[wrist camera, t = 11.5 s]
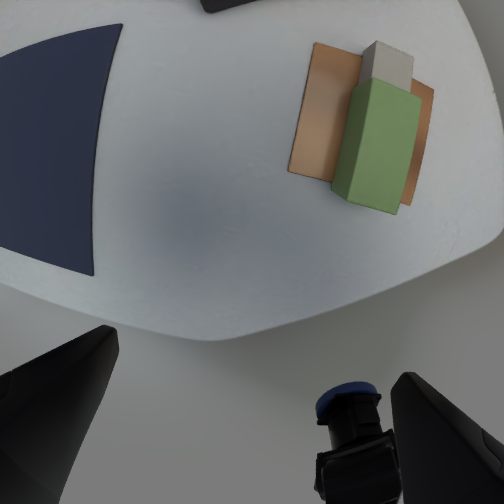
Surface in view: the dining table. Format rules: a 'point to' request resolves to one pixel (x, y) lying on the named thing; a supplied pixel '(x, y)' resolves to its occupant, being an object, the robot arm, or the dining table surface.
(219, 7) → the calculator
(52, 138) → the napkin
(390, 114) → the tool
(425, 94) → the coaster
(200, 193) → the dining table surface
